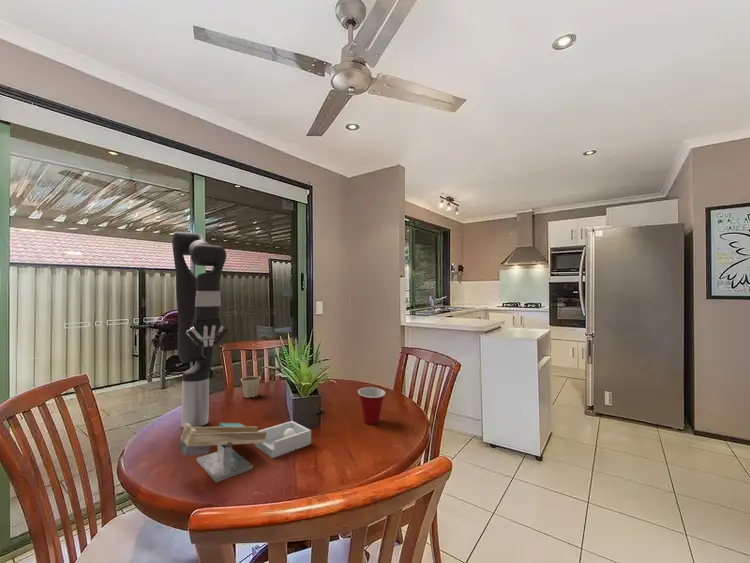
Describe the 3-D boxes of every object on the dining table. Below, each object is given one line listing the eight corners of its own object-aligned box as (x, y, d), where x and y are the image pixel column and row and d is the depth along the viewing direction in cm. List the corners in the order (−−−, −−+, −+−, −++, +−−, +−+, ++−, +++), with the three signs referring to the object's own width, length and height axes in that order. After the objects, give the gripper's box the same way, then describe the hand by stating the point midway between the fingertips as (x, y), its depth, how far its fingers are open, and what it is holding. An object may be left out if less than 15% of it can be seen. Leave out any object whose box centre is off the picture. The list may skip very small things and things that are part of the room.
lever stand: (196, 461, 101) (196, 440, 101) (230, 450, 108) (230, 431, 108) (216, 482, 89) (216, 459, 90) (252, 469, 96) (252, 447, 97)
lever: (166, 434, 102) (173, 412, 103) (236, 433, 117) (241, 413, 118) (185, 456, 88) (193, 431, 89) (263, 451, 103) (268, 429, 104)
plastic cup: (370, 429, 124) (370, 396, 125) (352, 421, 132) (352, 390, 133) (391, 422, 131) (391, 391, 132) (373, 415, 140) (373, 385, 140)
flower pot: (236, 398, 162) (236, 380, 162) (246, 393, 171) (247, 375, 172) (254, 399, 160) (254, 381, 161) (264, 393, 170) (264, 376, 170)
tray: (254, 445, 111) (254, 431, 111) (292, 433, 121) (292, 420, 121) (271, 458, 103) (272, 443, 103) (311, 444, 112) (311, 430, 113)
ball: (291, 424, 116) (292, 436, 117) (280, 429, 114) (282, 441, 114) (297, 428, 114) (298, 439, 114) (286, 433, 111) (288, 445, 111)
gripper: (224, 304, 119) (223, 353, 118) (182, 305, 110) (181, 358, 109) (232, 304, 114) (231, 356, 113) (189, 305, 104) (188, 362, 104)
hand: (206, 357), depth 111 cm, fingers closed
